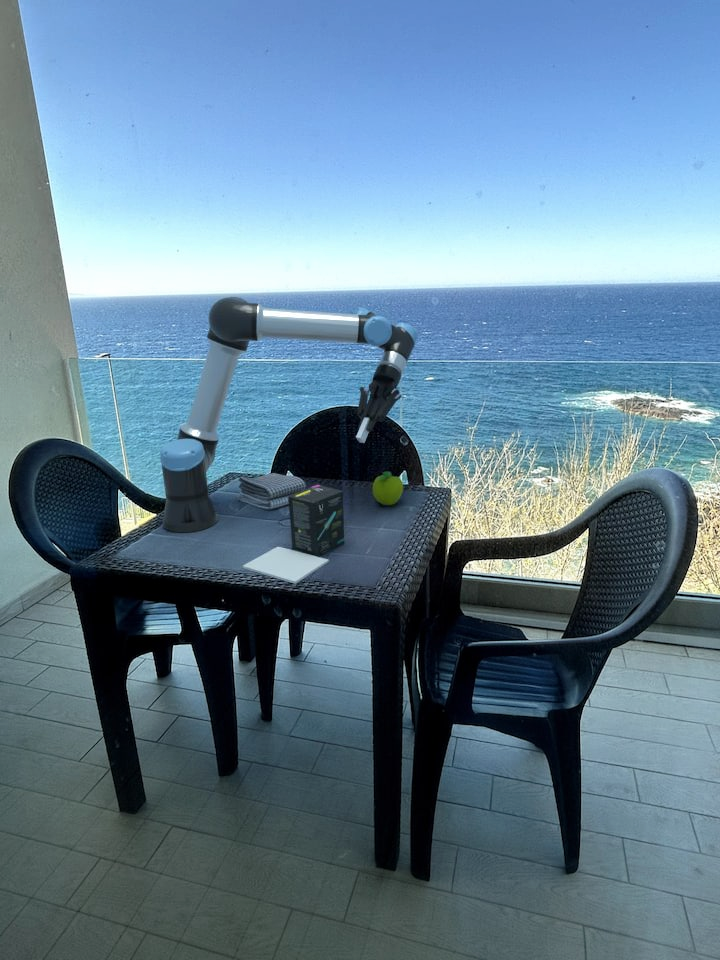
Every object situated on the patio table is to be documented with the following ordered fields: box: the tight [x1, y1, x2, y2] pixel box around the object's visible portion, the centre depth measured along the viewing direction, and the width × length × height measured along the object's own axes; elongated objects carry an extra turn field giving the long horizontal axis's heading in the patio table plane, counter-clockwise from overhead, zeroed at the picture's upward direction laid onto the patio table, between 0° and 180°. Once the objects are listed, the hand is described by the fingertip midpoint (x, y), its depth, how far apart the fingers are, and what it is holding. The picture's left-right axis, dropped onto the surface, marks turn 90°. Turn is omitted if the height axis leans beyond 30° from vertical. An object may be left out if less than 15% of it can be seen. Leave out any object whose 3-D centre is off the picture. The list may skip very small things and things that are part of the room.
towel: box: [236, 472, 307, 511], centre depth 186 cm, size 15×18×8 cm
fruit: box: [372, 471, 404, 506], centre depth 179 cm, size 9×9×10 cm
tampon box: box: [288, 484, 345, 557], centre depth 149 cm, size 11×9×15 cm
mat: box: [242, 546, 330, 585], centre depth 141 cm, size 16×13×1 cm
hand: (360, 440), depth 161 cm, fingers closed
